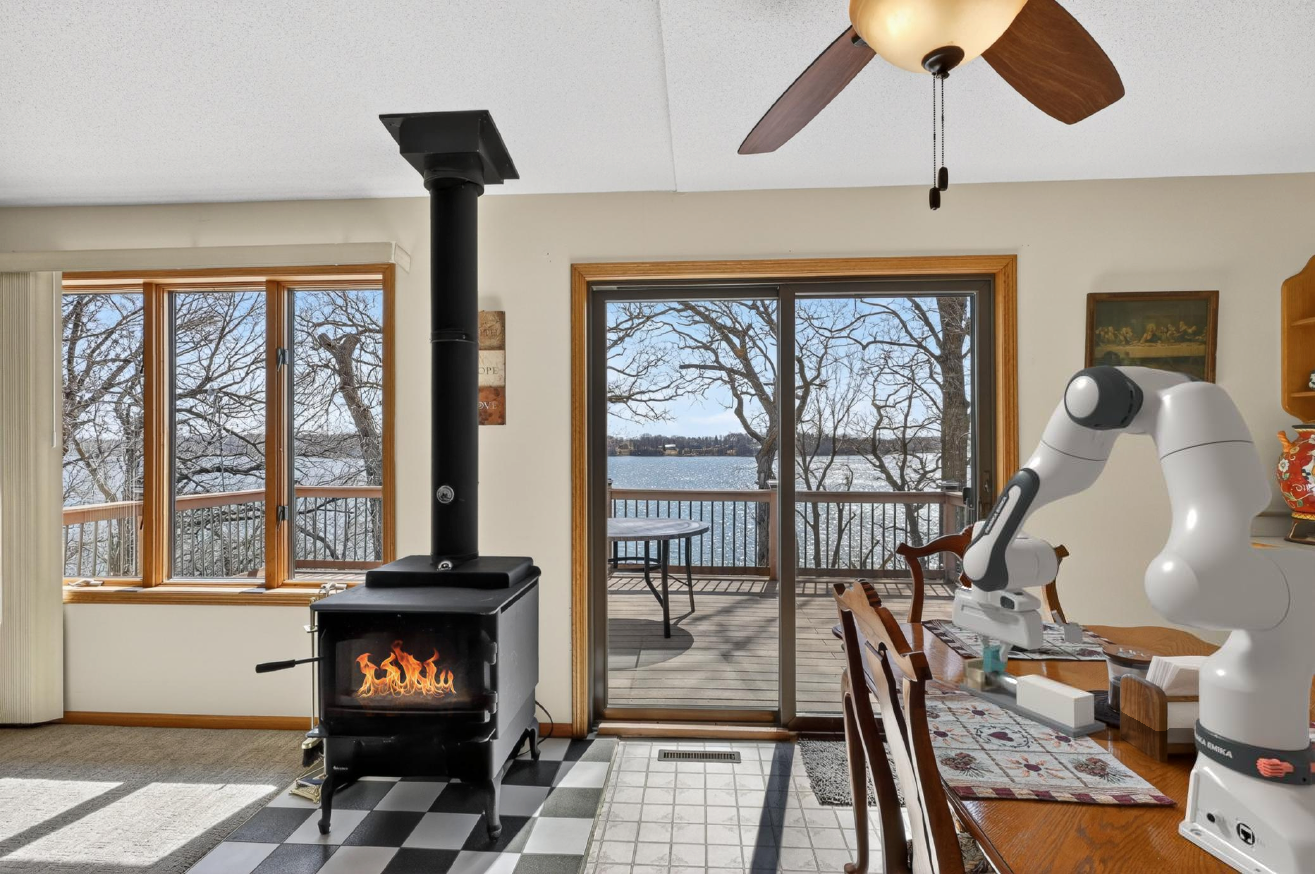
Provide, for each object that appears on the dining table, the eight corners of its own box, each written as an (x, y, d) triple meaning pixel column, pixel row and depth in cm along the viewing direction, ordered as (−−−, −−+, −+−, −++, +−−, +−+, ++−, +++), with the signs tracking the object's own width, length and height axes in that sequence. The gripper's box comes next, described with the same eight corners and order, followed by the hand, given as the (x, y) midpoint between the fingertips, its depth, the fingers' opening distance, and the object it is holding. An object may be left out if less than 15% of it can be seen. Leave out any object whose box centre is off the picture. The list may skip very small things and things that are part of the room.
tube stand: (1106, 729, 123) (1105, 694, 123) (1072, 737, 119) (1072, 701, 119) (988, 682, 147) (988, 654, 147) (958, 688, 143) (957, 659, 143)
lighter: (1081, 641, 177) (1081, 612, 178) (1082, 643, 176) (1082, 613, 176) (1051, 638, 181) (1050, 609, 181) (1051, 640, 179) (1051, 610, 179)
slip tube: (1057, 705, 129) (1057, 664, 129) (1042, 708, 127) (1041, 667, 128) (993, 679, 143) (992, 643, 143) (977, 682, 141) (977, 645, 141)
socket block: (1004, 686, 142) (1004, 662, 142) (980, 691, 139) (980, 666, 139) (987, 679, 146) (986, 656, 146) (963, 684, 143) (963, 660, 143)
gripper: (945, 584, 149) (945, 646, 148) (1025, 605, 130) (1026, 675, 129) (965, 582, 151) (966, 643, 151) (1048, 602, 132) (1049, 671, 132)
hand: (994, 658), depth 140 cm, fingers closed on slip tube, 2 cm apart
